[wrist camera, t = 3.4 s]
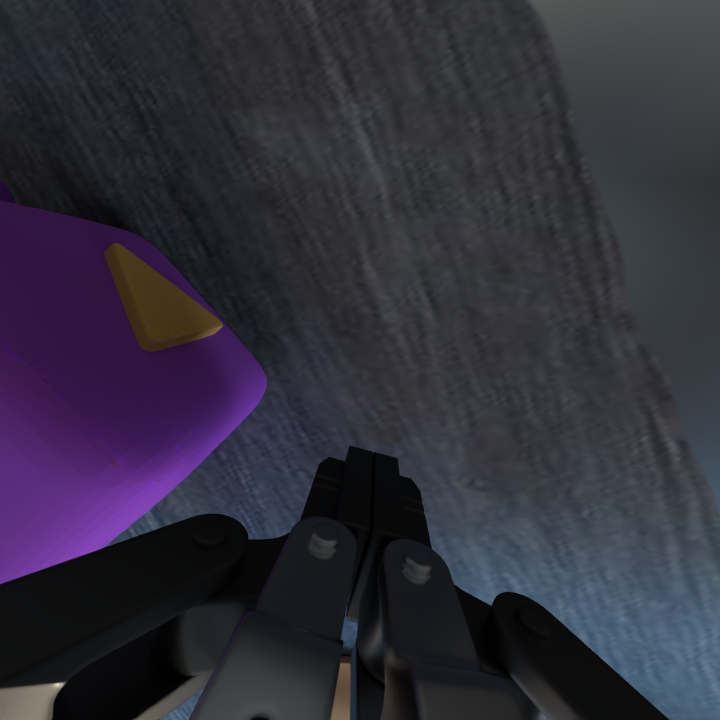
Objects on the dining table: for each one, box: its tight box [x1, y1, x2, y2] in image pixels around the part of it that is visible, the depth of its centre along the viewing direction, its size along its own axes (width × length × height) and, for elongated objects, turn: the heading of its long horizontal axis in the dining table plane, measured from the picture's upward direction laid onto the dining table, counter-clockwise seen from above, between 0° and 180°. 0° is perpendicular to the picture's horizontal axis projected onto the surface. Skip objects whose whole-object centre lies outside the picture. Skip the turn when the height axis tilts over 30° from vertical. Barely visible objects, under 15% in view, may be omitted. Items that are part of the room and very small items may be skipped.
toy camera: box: [0, 179, 267, 584], centre depth 12 cm, size 11×14×10 cm
